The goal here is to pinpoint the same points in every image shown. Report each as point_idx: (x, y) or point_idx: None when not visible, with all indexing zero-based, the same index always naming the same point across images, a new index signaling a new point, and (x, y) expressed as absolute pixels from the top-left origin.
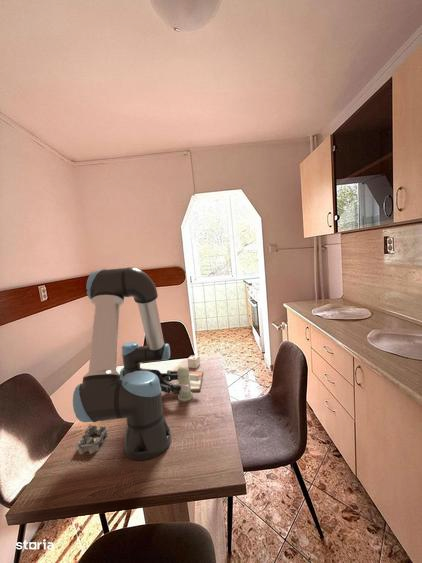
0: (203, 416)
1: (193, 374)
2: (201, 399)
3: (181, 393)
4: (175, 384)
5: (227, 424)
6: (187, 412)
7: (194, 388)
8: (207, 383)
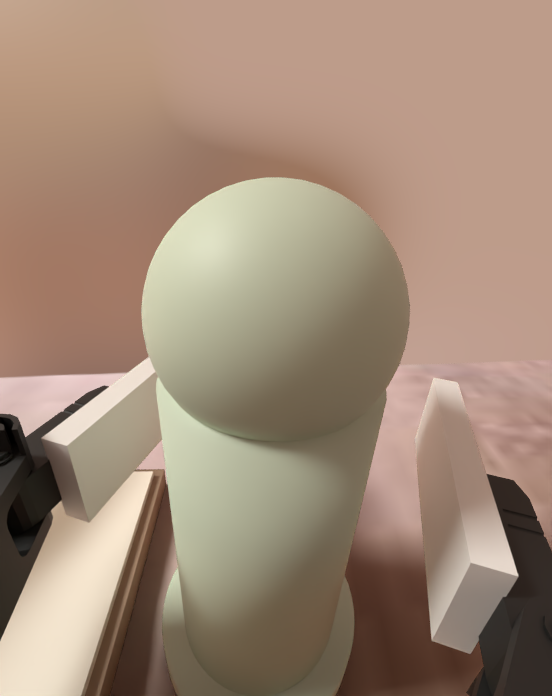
0: (489, 443)
1: (147, 360)
2: None
3: (337, 604)
4: (506, 544)
5: (487, 368)
6: None
7: (138, 512)
8: None
